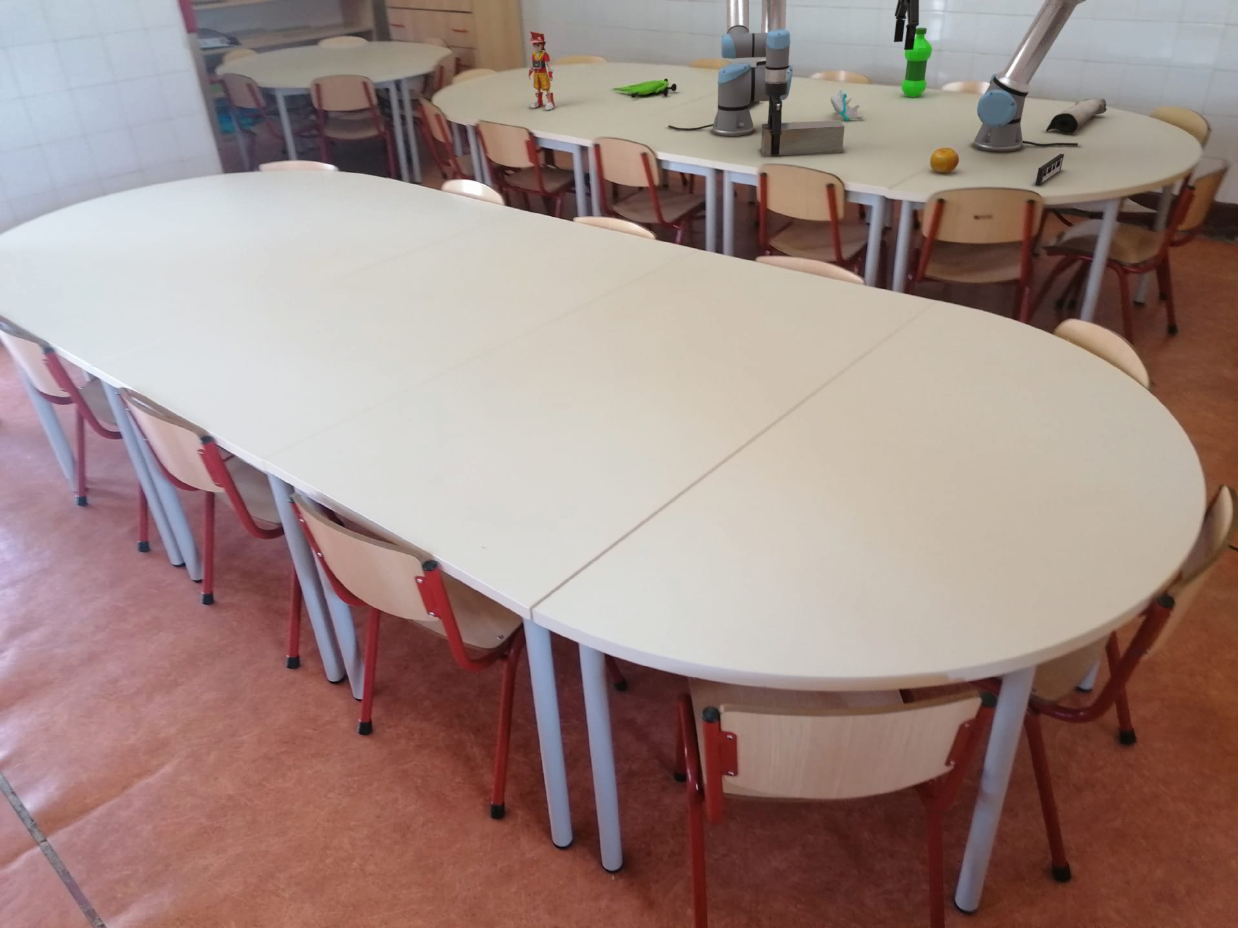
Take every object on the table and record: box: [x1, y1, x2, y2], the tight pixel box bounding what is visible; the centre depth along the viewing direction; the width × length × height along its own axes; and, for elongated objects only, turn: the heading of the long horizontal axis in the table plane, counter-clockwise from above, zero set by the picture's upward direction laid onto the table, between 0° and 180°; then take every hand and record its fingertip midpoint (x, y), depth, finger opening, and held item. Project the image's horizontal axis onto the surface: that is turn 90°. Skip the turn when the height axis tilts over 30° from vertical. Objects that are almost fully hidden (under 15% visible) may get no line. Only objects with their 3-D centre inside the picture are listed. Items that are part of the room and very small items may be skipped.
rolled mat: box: [1045, 97, 1108, 135], centre depth 319 cm, size 30×9×10 cm
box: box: [760, 119, 845, 157], centre depth 309 cm, size 27×8×9 cm, turn 89°
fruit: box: [929, 147, 960, 174], centre depth 283 cm, size 8×8×8 cm
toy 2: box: [612, 78, 677, 99], centre depth 396 cm, size 28×5×30 cm
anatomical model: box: [830, 89, 864, 121], centre depth 343 cm, size 15×10×10 cm
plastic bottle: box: [901, 27, 933, 98], centre depth 359 cm, size 10×10×25 cm
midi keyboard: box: [1035, 153, 1065, 186], centre depth 273 cm, size 18×1×5 cm, turn 138°
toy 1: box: [527, 31, 556, 111], centre depth 374 cm, size 12×9×30 cm
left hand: (773, 150), depth 311 cm, fingers open, 9 cm apart
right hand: (903, 46), depth 290 cm, fingers open, 13 cm apart
